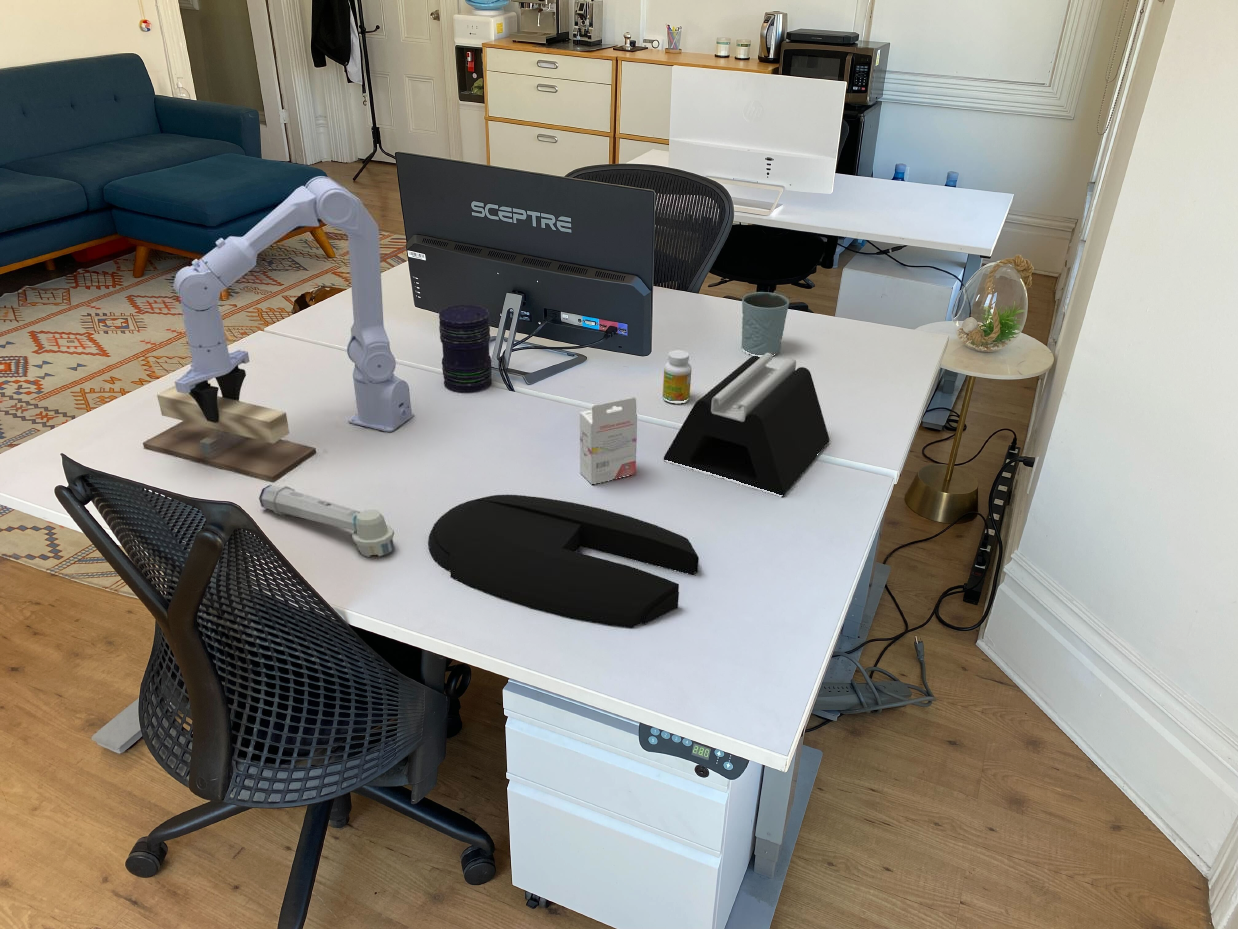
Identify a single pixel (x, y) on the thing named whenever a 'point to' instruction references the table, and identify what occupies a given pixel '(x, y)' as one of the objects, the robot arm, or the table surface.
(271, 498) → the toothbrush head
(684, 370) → the supplement bottle
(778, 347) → the embossed green cup
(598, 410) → the ink cartridge box
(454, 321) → the storage jar
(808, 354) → the table surface
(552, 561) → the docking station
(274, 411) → the beech rod
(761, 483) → the device stand
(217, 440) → the ridge
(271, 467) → the board
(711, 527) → the table surface
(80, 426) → the table surface
